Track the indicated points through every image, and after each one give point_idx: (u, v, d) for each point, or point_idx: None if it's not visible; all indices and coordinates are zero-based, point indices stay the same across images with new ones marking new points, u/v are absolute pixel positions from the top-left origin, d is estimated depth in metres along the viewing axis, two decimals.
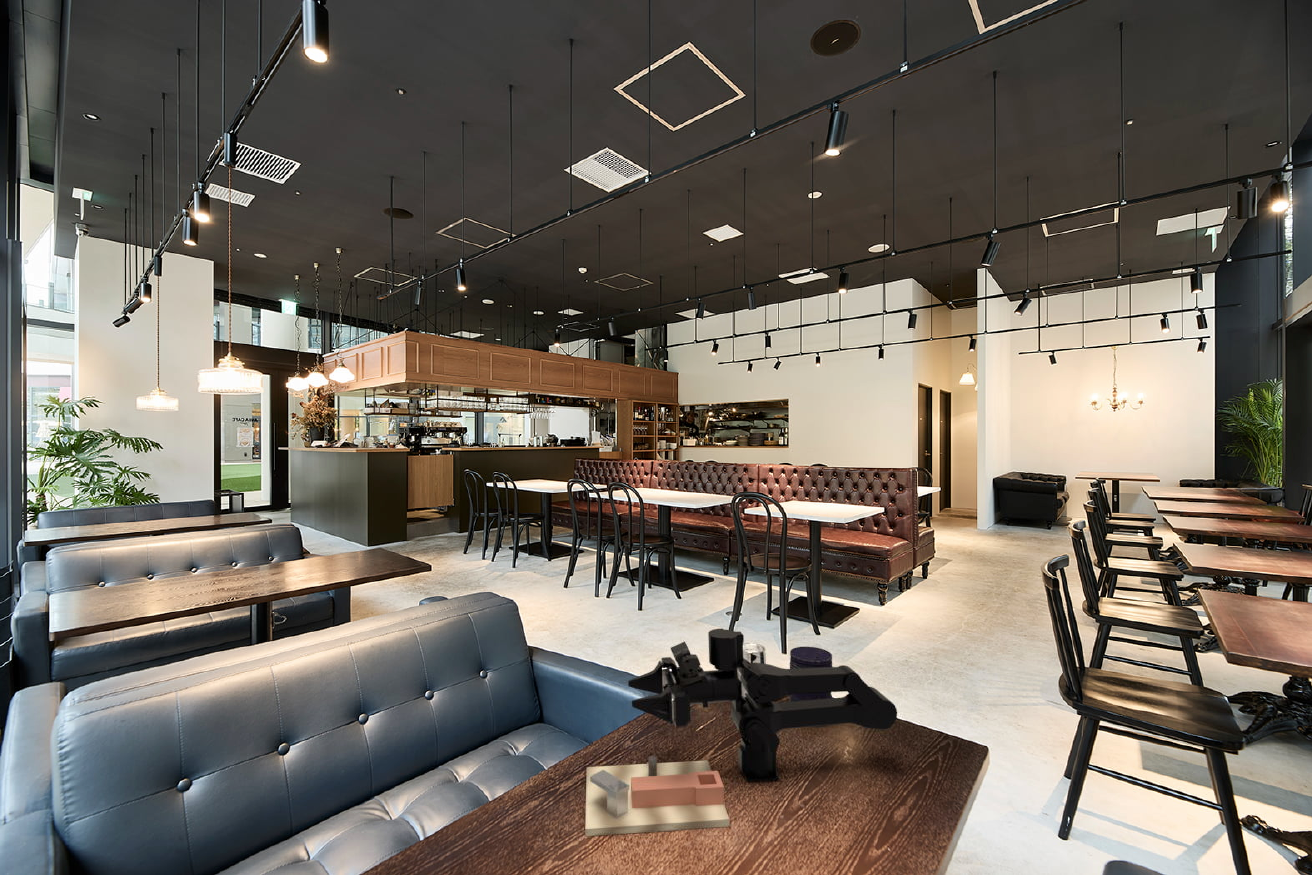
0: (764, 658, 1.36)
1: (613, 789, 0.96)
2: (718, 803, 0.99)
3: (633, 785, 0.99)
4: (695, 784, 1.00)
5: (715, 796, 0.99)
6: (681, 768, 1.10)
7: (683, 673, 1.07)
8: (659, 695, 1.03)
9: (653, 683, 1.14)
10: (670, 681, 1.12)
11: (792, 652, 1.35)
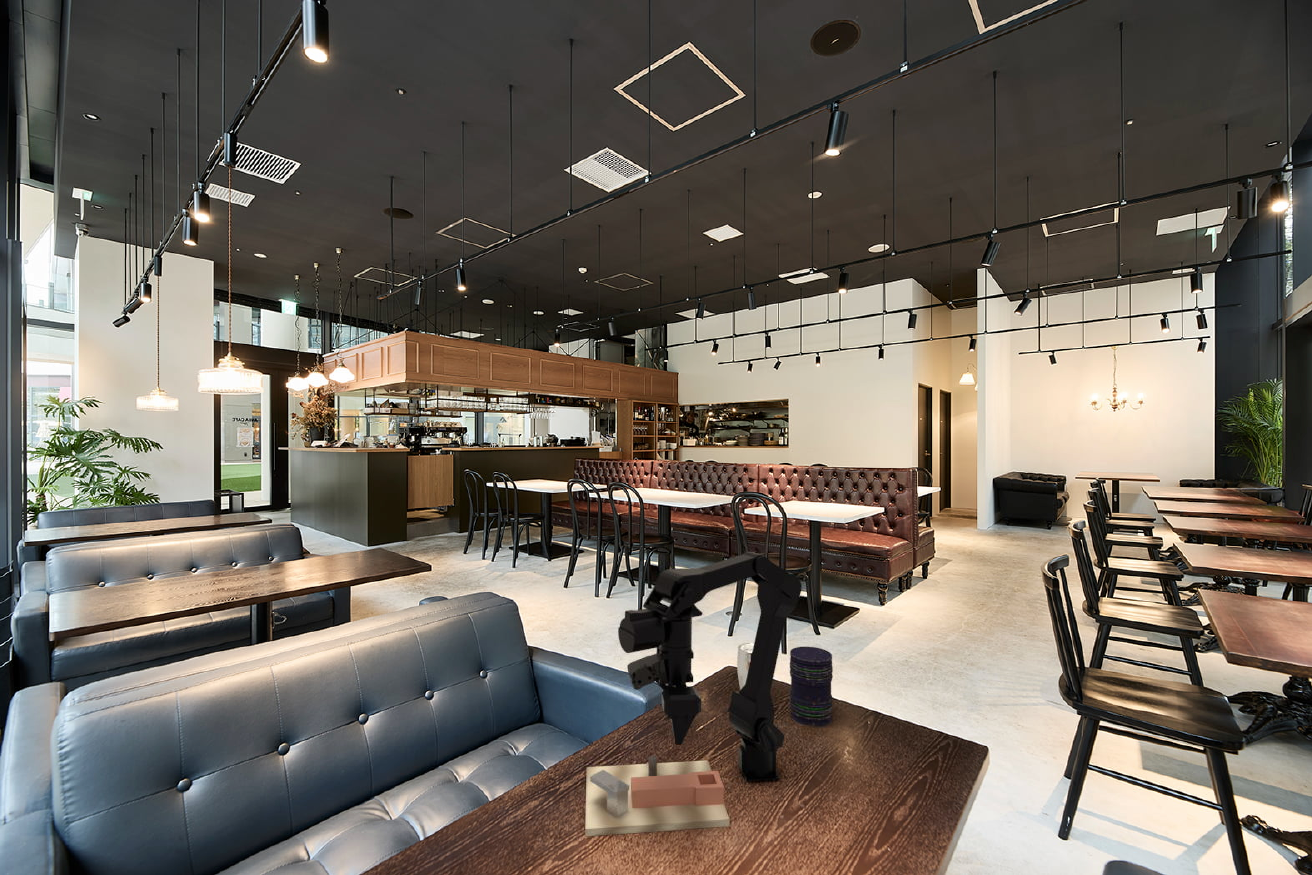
0: None
1: (613, 789, 0.96)
2: (718, 803, 0.99)
3: (633, 785, 0.99)
4: (695, 784, 1.00)
5: (715, 796, 0.99)
6: (681, 768, 1.10)
7: (655, 679, 0.98)
8: None
9: None
10: None
11: (792, 652, 1.35)
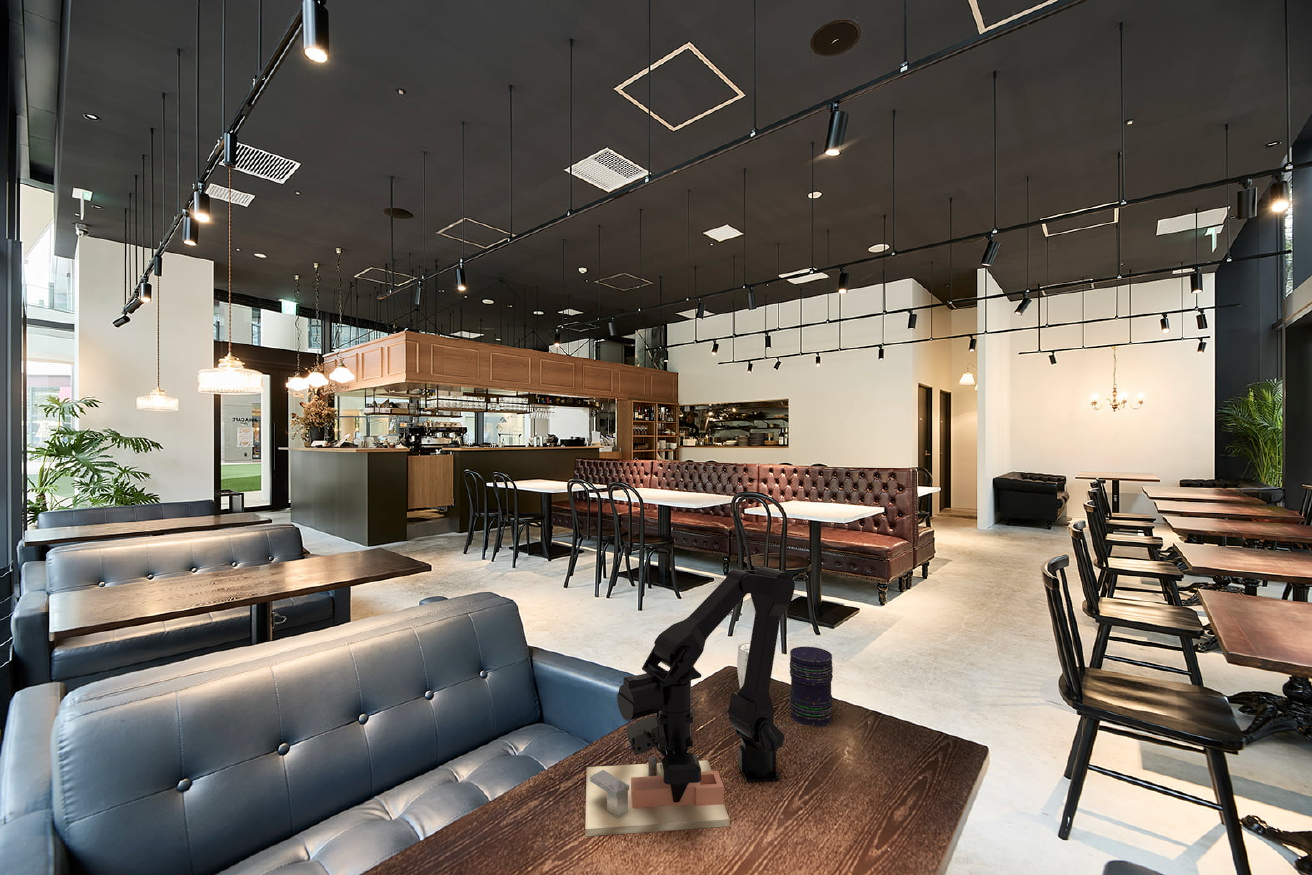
0: None
1: (613, 789, 0.96)
2: (718, 803, 0.99)
3: (633, 785, 0.99)
4: (695, 784, 1.00)
5: (715, 796, 0.99)
6: None
7: (654, 744, 0.98)
8: None
9: None
10: None
11: (792, 652, 1.35)
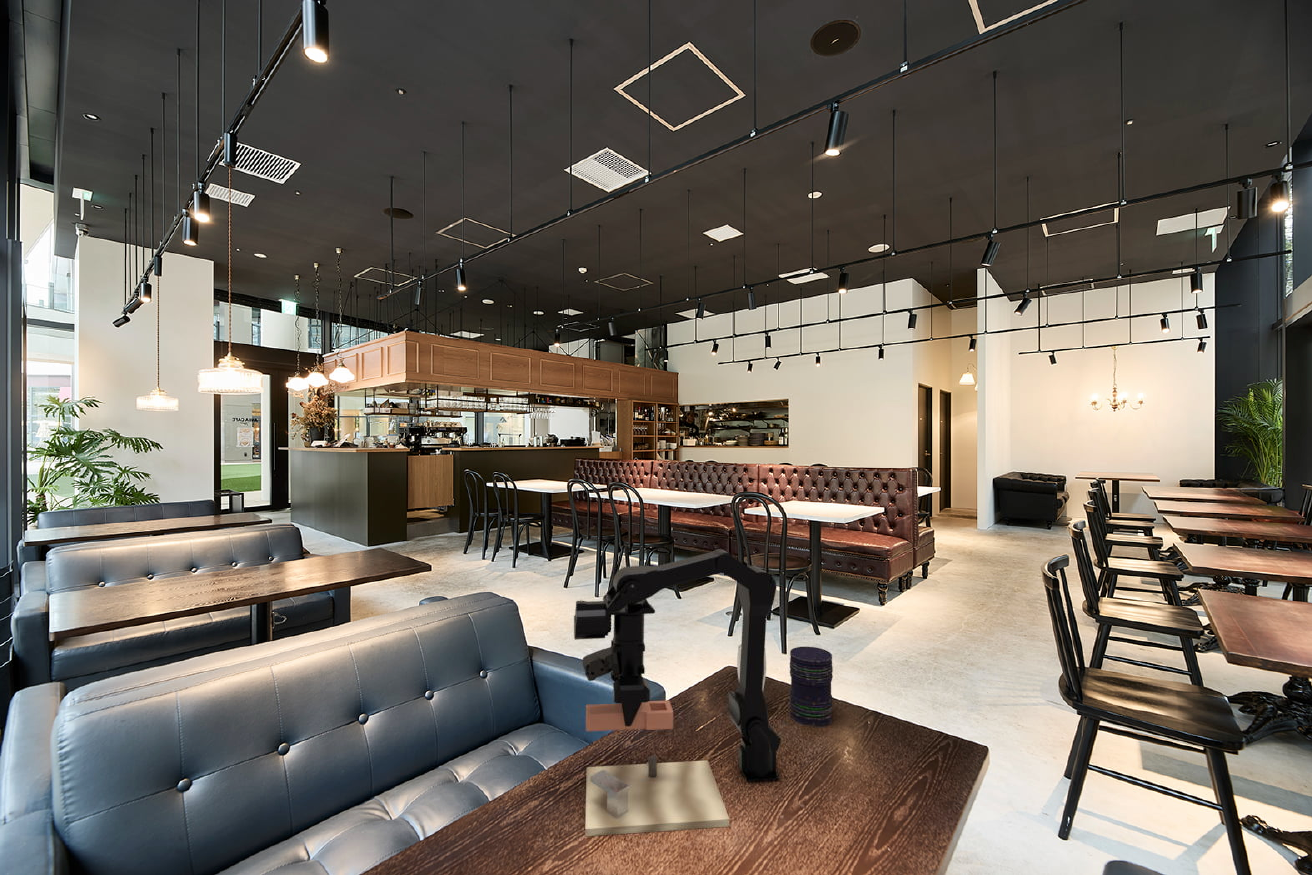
0: (764, 658, 1.36)
1: (613, 789, 0.96)
2: (667, 727, 1.05)
3: (587, 710, 1.05)
4: (646, 710, 1.05)
5: (665, 721, 1.05)
6: (681, 768, 1.10)
7: (608, 671, 1.04)
8: None
9: None
10: None
11: (792, 652, 1.35)
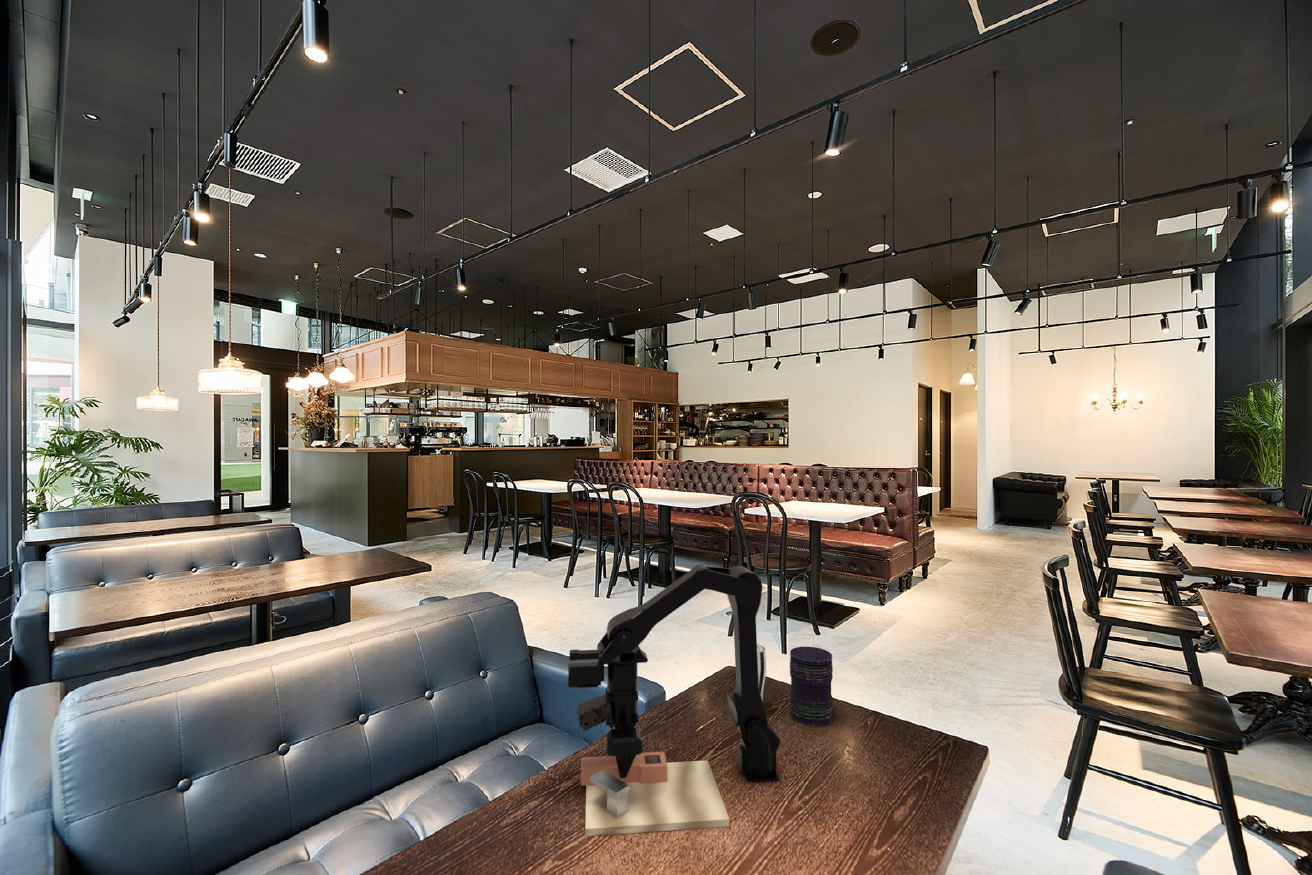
0: (764, 658, 1.36)
1: (613, 789, 0.96)
2: (662, 781, 1.05)
3: (582, 764, 1.06)
4: (640, 763, 1.06)
5: (659, 774, 1.05)
6: (681, 768, 1.10)
7: (602, 720, 1.05)
8: None
9: None
10: None
11: (792, 652, 1.35)
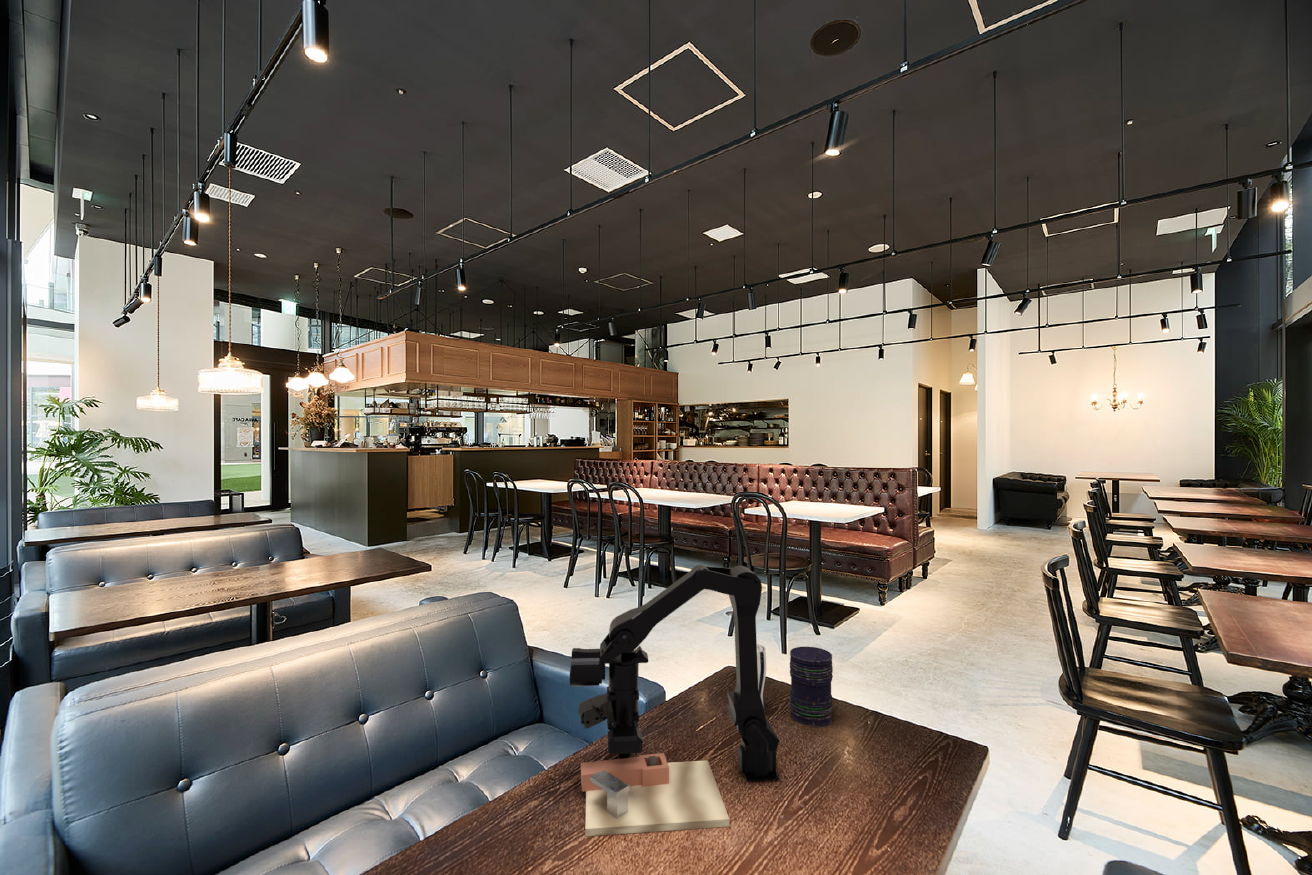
0: (764, 658, 1.36)
1: (613, 789, 0.96)
2: (663, 783, 1.05)
3: (583, 770, 1.04)
4: (642, 766, 1.05)
5: (661, 776, 1.05)
6: (681, 768, 1.10)
7: (603, 719, 1.07)
8: None
9: None
10: None
11: (792, 652, 1.35)
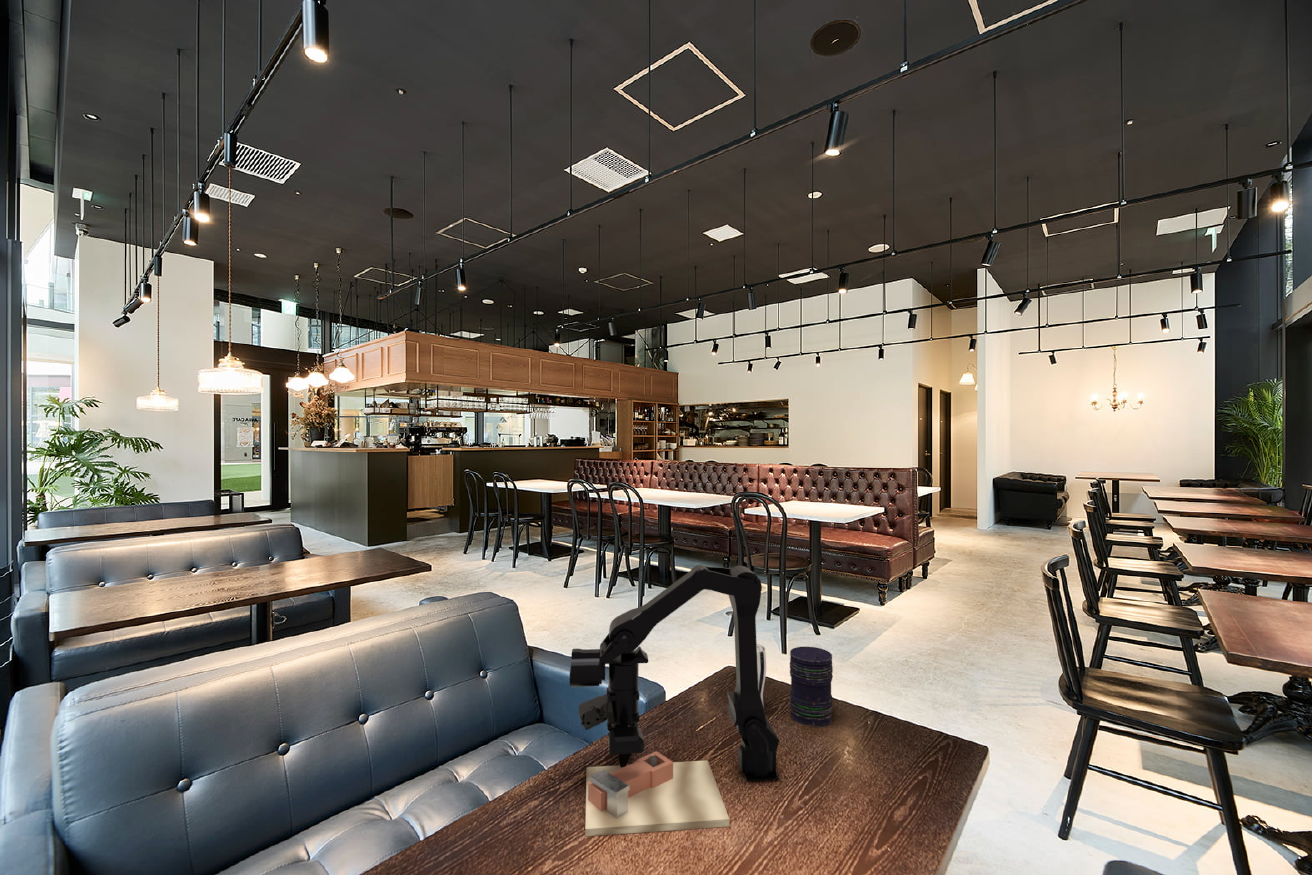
0: (764, 658, 1.36)
1: (613, 789, 0.96)
2: (669, 779, 1.06)
3: (597, 788, 0.98)
4: (649, 768, 1.05)
5: (667, 773, 1.06)
6: (681, 768, 1.10)
7: (603, 720, 1.06)
8: None
9: None
10: None
11: (792, 652, 1.35)
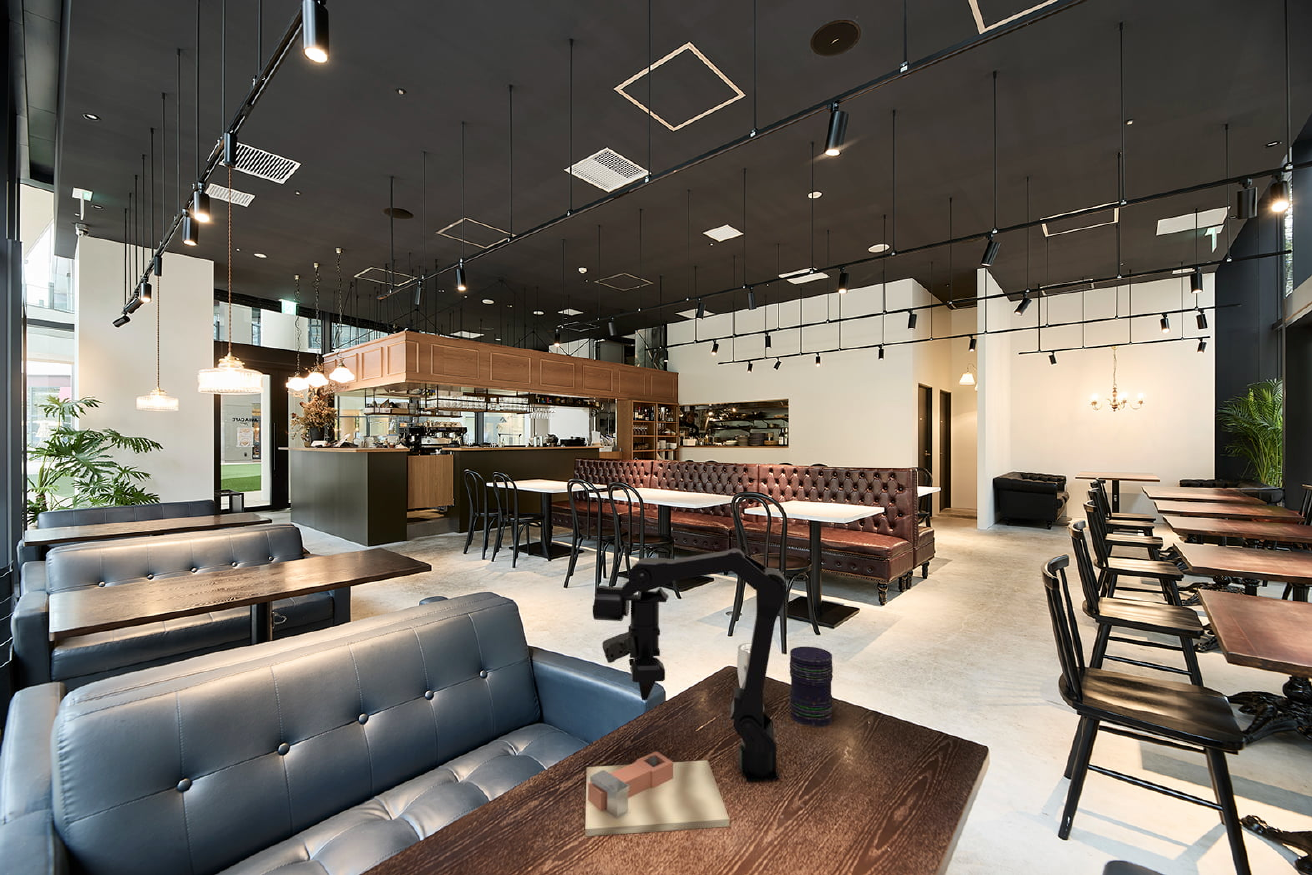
0: None
1: (613, 789, 0.96)
2: (669, 779, 1.06)
3: (597, 788, 0.98)
4: (649, 768, 1.05)
5: (667, 773, 1.06)
6: (681, 768, 1.10)
7: (626, 654, 1.12)
8: None
9: None
10: None
11: (792, 652, 1.35)
